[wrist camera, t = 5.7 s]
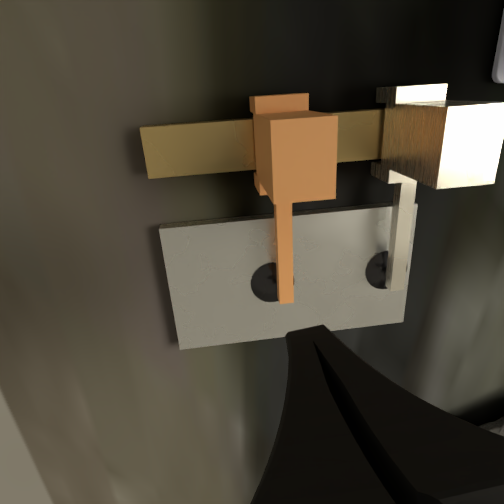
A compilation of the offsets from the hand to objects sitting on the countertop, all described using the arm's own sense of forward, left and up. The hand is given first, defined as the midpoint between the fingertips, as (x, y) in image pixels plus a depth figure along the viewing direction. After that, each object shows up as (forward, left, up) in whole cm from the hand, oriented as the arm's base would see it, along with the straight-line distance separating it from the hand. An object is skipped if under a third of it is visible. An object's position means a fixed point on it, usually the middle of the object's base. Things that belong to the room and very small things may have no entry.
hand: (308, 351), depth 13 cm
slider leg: (-1, -3, -10) cm, 10 cm away
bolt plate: (-1, +2, -10) cm, 10 cm away
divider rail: (-1, -3, -10) cm, 10 cm away
